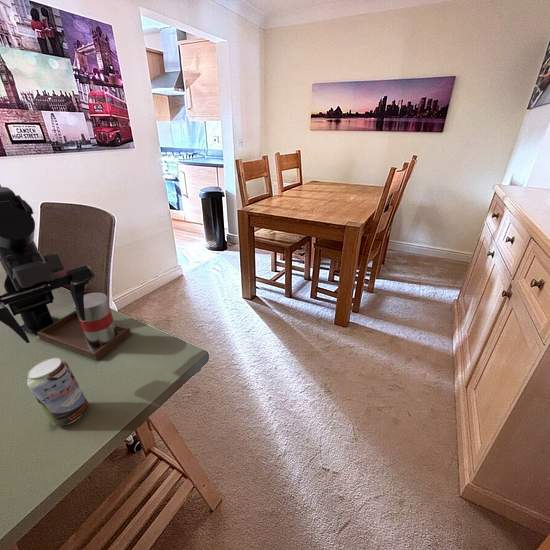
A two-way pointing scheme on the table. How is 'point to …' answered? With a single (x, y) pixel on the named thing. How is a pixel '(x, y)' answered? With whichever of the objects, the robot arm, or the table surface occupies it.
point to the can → (97, 320)
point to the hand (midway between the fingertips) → (57, 330)
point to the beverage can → (57, 391)
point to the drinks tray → (78, 337)
